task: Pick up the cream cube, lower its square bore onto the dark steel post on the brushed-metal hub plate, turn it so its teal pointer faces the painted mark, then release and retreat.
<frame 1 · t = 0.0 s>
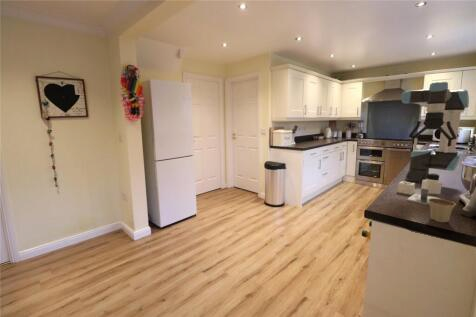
hand: (429, 151, 128), 28 cm above the countertop, fingers open, 13 cm apart
hub plate: (423, 200, 131), on the countertop
medicine bottle: (430, 192, 146), on the countertop
flower pot: (438, 220, 105), on the countertop
cream cube: (405, 192, 145), on the countertop
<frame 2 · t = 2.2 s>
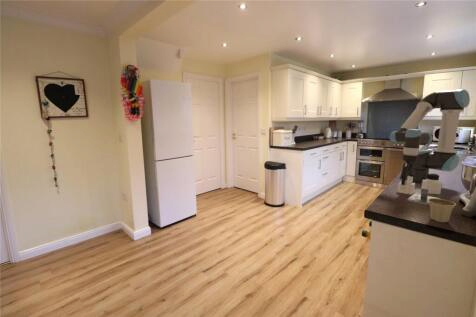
hand: (405, 188, 145), 3 cm above the countertop, fingers open, 13 cm apart
nothing on the countertop moved.
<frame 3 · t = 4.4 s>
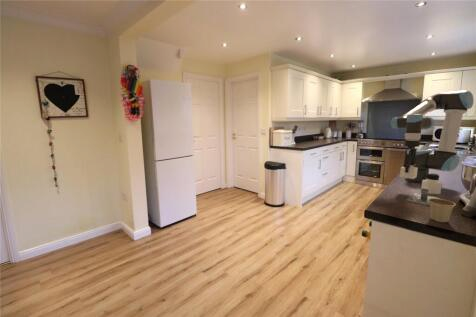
hand: (408, 176, 144), 10 cm above the countertop, fingers closed on cream cube, 7 cm apart
cream cube: (408, 176, 144), point 10 cm above the countertop, touching gripper
everything else where it was.
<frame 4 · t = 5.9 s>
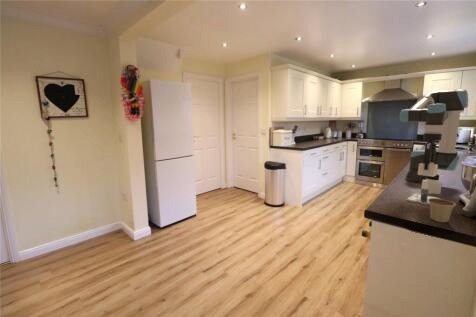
hand: (427, 174, 128), 15 cm above the countertop, fingers closed on cream cube, 7 cm apart
cream cube: (426, 174, 128), point 15 cm above the countertop, touching gripper
everything else where it was.
when the fingers open (1 cm above the countertop, at t = 7.9 s): cream cube stays where it is, resting on hub plate.
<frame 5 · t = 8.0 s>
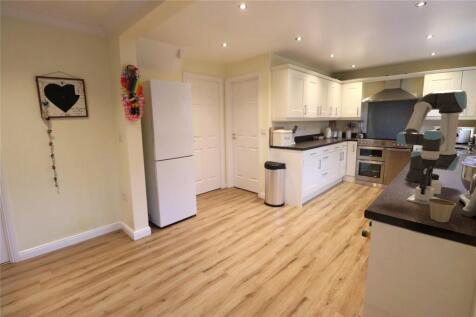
hand: (423, 198, 130), 1 cm above the countertop, fingers open, 7 cm apart
cream cube: (423, 198, 131), point 1 cm above the countertop, touching hub plate
everything else where it was.
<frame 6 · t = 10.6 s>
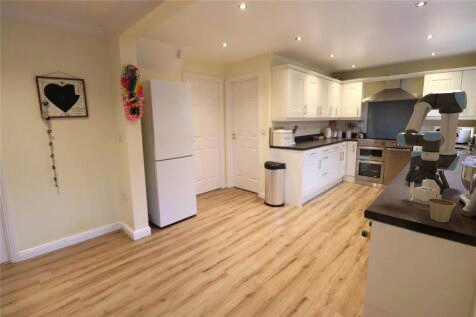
hand: (424, 196, 130), 2 cm above the countertop, fingers open, 13 cm apart
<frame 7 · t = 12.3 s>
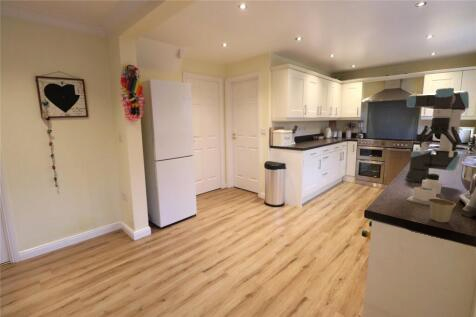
hand: (435, 155, 131), 25 cm above the countertop, fingers open, 13 cm apart
nothing on the countertop moved.
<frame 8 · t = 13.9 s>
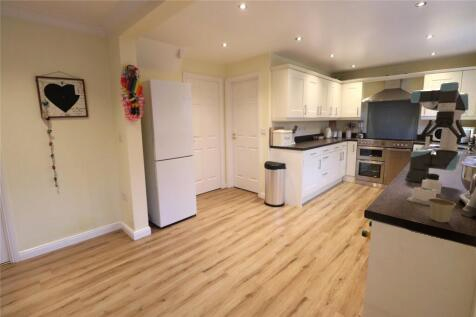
hand: (440, 148, 133), 29 cm above the countertop, fingers open, 13 cm apart
nothing on the countertop moved.
at the end: cream cube 0.8 cm off-centre on the hub plate, point 1.1 cm above the hub plate's base; the gripper is holding nothing; cream cube tilted 1° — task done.
